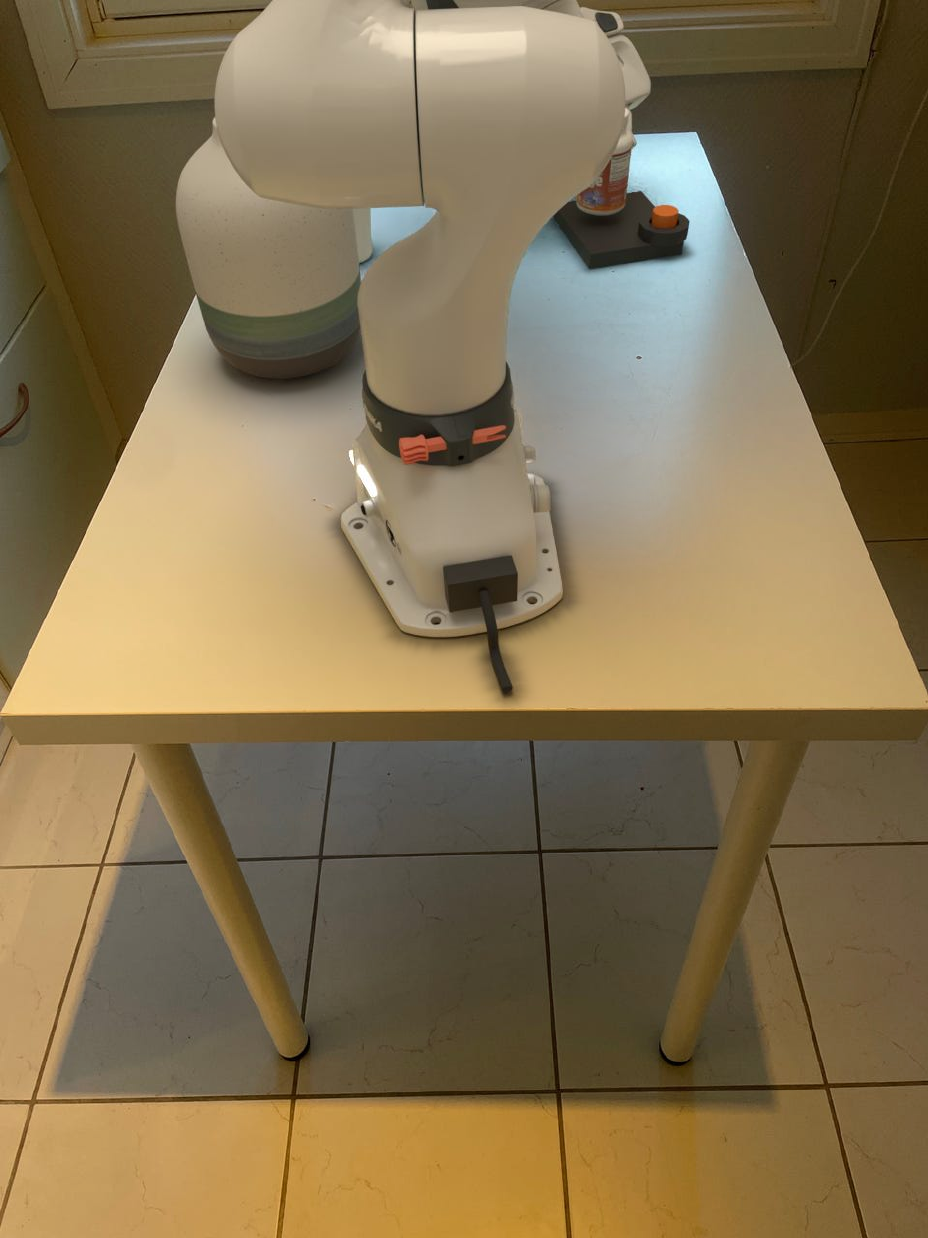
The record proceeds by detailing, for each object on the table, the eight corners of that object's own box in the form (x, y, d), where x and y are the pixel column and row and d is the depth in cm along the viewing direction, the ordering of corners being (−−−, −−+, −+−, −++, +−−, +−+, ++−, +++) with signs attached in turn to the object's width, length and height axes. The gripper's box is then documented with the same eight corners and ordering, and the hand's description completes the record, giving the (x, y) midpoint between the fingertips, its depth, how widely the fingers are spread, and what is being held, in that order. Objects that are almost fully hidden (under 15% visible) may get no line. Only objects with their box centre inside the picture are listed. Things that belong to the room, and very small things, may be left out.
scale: (692, 256, 113) (697, 228, 111) (591, 272, 111) (594, 244, 109) (646, 203, 123) (649, 176, 120) (553, 217, 121) (554, 190, 118)
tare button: (680, 228, 112) (682, 213, 110) (657, 231, 111) (658, 217, 110) (670, 217, 114) (672, 202, 112) (647, 220, 113) (649, 206, 112)
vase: (399, 352, 101) (378, 117, 83) (267, 415, 94) (212, 174, 76) (312, 293, 110) (276, 69, 92) (185, 347, 103) (119, 116, 85)
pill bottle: (565, 203, 117) (570, 108, 108) (604, 190, 119) (611, 96, 111) (596, 221, 113) (604, 125, 105) (635, 208, 115) (646, 112, 107)
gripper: (502, 53, 102) (561, 171, 104) (628, 10, 111) (680, 120, 113) (476, 87, 108) (532, 198, 110) (598, 43, 116) (648, 147, 118)
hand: (608, 158), depth 111 cm, fingers closed on pill bottle, 6 cm apart
